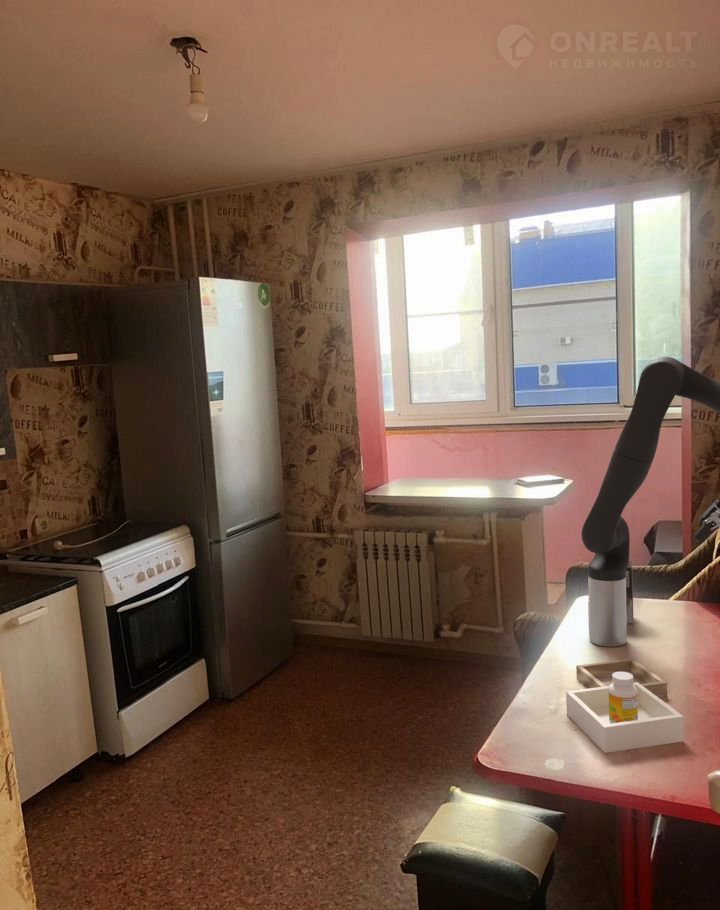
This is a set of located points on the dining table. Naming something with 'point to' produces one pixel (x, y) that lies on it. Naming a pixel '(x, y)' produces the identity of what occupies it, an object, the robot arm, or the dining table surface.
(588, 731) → the bin
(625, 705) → the supplement bottle
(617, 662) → the frame
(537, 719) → the dining table surface
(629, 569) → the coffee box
